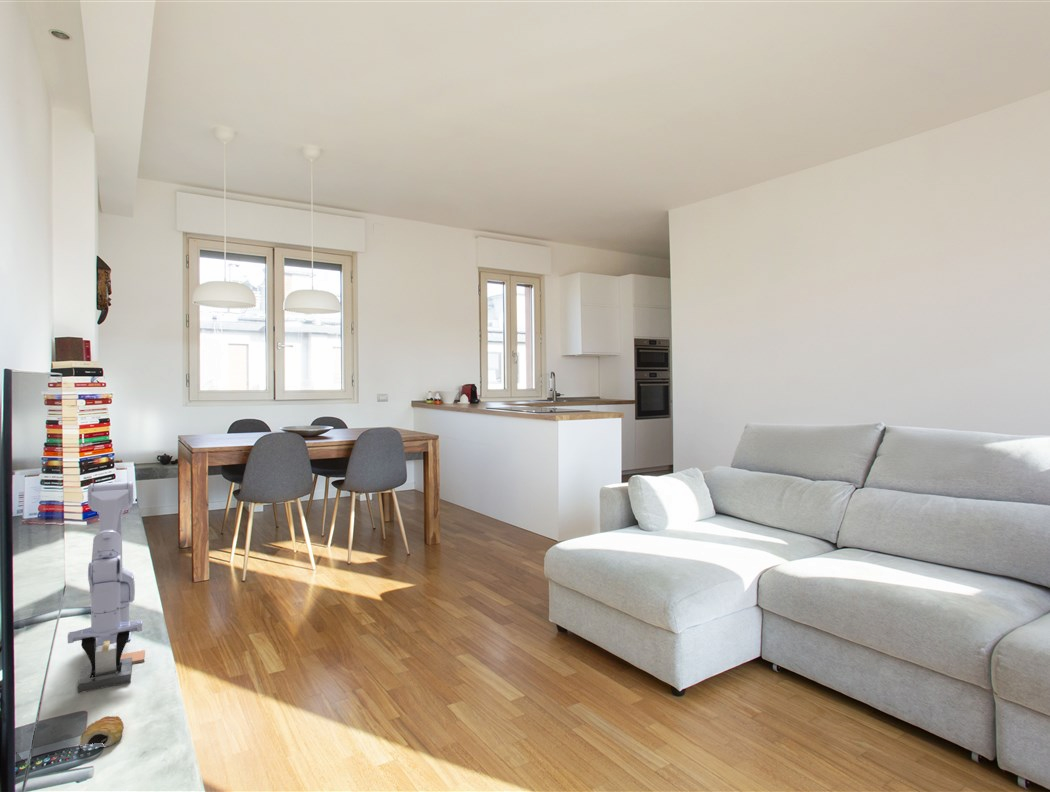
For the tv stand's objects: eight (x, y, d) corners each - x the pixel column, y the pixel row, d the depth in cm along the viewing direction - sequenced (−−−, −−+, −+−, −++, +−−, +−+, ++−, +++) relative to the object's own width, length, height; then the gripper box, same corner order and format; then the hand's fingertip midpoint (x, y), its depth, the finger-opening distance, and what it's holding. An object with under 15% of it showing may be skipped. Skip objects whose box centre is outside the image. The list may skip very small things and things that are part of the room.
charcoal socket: (82, 674, 149) (82, 666, 149) (132, 665, 154) (132, 657, 154) (78, 692, 140) (77, 684, 140) (130, 682, 145) (130, 673, 145)
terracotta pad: (117, 657, 158) (117, 655, 158) (144, 652, 161) (144, 650, 161) (115, 666, 153) (115, 664, 153) (144, 661, 156) (144, 659, 156)
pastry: (91, 728, 126) (91, 710, 126) (129, 722, 129) (130, 704, 129) (77, 754, 118) (77, 734, 118) (118, 747, 120) (118, 728, 120)
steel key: (97, 674, 148) (96, 642, 148) (117, 670, 150) (117, 639, 150) (95, 683, 144) (94, 651, 144) (115, 679, 146) (115, 647, 146)
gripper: (65, 620, 139) (66, 680, 140) (141, 609, 147) (141, 666, 147) (69, 610, 146) (70, 667, 146) (142, 599, 153) (142, 654, 153)
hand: (106, 666), depth 147 cm, fingers closed on steel key, 4 cm apart
